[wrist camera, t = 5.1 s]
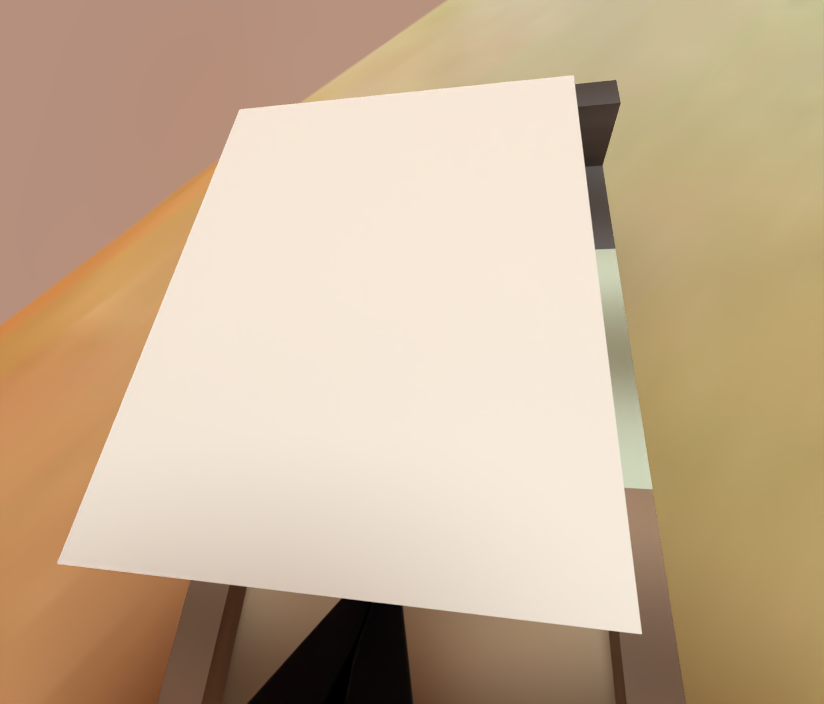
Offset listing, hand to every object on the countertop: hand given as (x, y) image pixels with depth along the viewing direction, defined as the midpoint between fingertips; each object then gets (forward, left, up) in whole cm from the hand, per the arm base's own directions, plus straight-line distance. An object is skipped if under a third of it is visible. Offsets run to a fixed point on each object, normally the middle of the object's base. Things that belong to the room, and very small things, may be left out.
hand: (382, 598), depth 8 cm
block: (+3, -3, -4) cm, 6 cm away
